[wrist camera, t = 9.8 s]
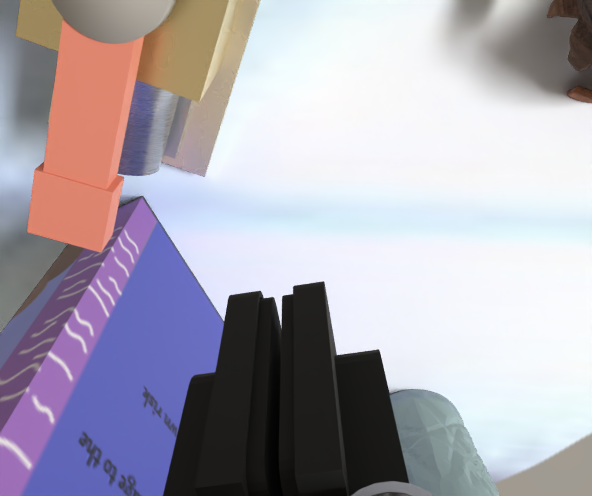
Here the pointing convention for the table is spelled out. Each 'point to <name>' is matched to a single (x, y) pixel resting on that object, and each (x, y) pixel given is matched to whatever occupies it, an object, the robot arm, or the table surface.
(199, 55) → the valve body
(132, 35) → the lever
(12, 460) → the cereal box
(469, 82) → the table surface
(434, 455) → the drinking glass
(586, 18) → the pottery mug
